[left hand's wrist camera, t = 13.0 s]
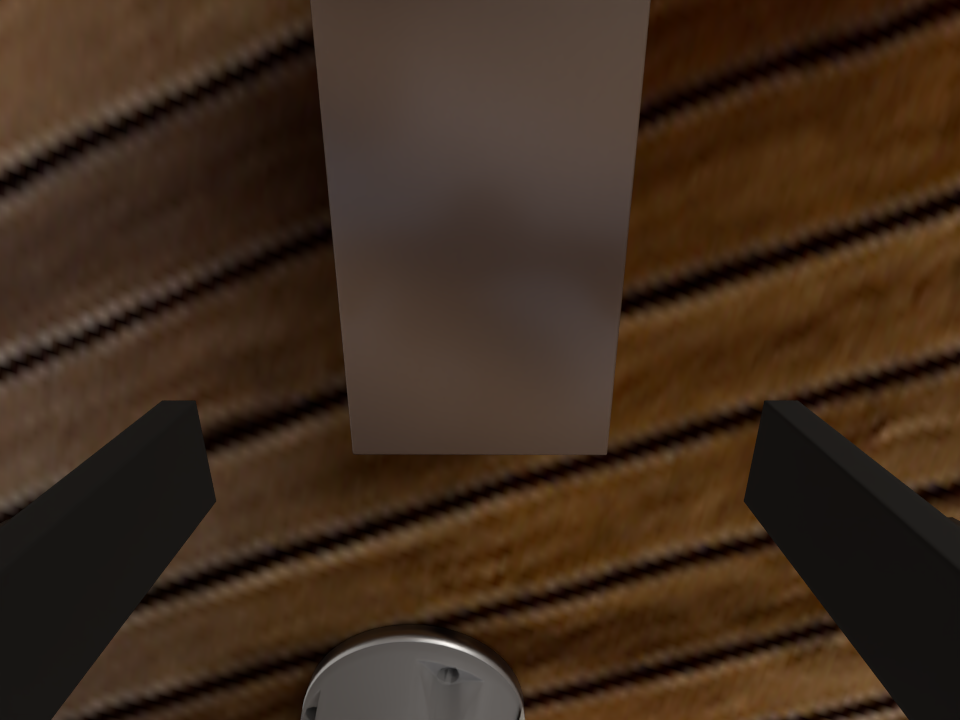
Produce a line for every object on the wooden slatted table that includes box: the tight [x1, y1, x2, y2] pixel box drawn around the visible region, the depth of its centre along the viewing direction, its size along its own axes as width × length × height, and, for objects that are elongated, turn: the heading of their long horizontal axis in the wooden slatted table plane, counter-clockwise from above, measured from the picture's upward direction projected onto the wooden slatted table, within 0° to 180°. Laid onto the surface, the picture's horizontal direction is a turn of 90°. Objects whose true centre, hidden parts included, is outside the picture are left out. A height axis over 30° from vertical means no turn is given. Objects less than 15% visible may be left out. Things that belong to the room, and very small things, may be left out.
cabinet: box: [310, 0, 651, 455], centre depth 22 cm, size 18×10×9 cm, turn 0°
